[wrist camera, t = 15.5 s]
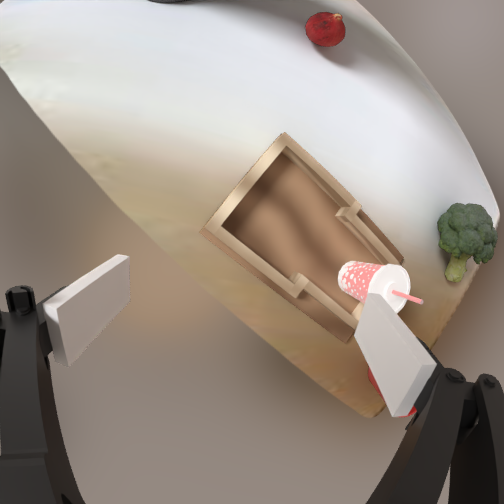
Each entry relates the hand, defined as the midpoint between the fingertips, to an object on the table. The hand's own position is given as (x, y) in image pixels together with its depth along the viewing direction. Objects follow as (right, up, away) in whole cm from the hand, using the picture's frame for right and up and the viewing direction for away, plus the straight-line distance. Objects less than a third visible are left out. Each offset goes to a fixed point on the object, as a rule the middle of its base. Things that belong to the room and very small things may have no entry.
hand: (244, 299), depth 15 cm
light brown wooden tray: (+9, +3, +23) cm, 25 cm away
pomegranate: (+10, +35, +20) cm, 42 cm away
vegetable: (+36, +5, +29) cm, 47 cm away
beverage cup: (+14, -1, +23) cm, 27 cm away
